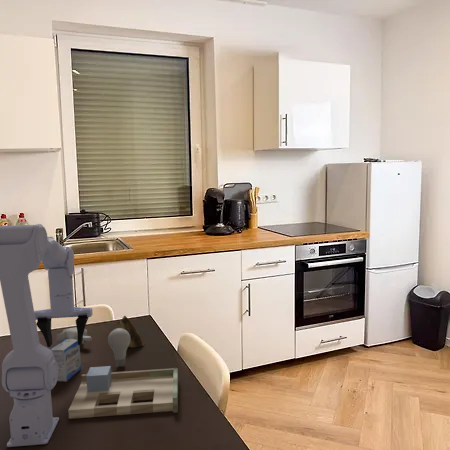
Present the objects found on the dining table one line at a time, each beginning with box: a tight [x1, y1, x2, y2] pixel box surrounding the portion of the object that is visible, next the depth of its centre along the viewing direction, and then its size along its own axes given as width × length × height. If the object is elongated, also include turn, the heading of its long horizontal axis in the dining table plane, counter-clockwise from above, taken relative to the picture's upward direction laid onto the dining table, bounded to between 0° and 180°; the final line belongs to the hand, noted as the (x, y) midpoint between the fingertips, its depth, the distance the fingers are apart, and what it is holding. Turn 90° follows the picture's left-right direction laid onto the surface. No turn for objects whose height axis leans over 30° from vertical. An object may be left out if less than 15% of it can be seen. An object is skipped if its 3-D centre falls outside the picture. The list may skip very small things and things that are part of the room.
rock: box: [113, 315, 145, 348], centre depth 146 cm, size 11×9×10 cm
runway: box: [68, 367, 179, 420], centre depth 109 cm, size 16×24×4 cm, turn 95°
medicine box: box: [50, 339, 82, 383], centre depth 123 cm, size 8×4×9 cm, turn 168°
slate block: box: [86, 365, 112, 392], centre depth 112 cm, size 5×5×4 cm
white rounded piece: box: [56, 326, 93, 346], centre depth 146 cm, size 10×5×15 cm
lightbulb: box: [107, 328, 130, 368], centre depth 127 cm, size 6×6×11 cm
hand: (65, 344), depth 119 cm, fingers open, 7 cm apart
